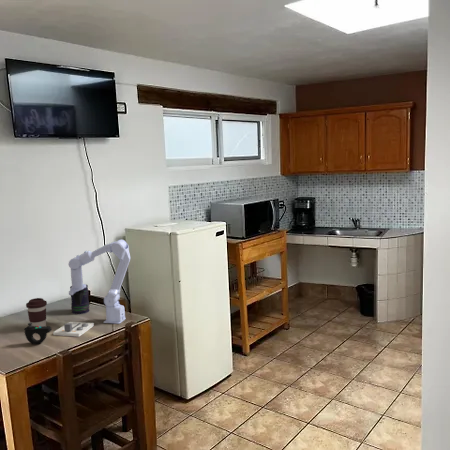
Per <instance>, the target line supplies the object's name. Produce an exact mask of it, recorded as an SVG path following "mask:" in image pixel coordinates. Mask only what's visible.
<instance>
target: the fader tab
mask: <svg viewBox="0 0 450 450" xmlns="http://www.w3.org/2000/svg"><path fill="white" fill-rule="evenodd" d="M63 326H64V328H65V331H72V323H68V322H66V323H64V324H63Z"/></svg>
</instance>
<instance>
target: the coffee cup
mask: <svg viewBox="0 0 450 450" xmlns="http://www.w3.org/2000/svg"><path fill="white" fill-rule="evenodd" d="M47 305H48V303H47V300H45V299H44V298H42V297H36V298H32V299H29V301H28V302H27V303H26V304H25V306H26V307H25V308H27V315H28V321H29V323H32V326H47Z"/></svg>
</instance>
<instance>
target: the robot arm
mask: <svg viewBox="0 0 450 450" xmlns="http://www.w3.org/2000/svg"><path fill="white" fill-rule="evenodd" d="M105 253H113V254H114V255H115V256H116V257H117V258H118V260H119V263H118V266H117V269H116V272H115V274H114V277H113V280H112V283H111V286H110V288H109V290H108V292H107V294H106V295H105V296H104V298H103V304H104V305H105V318H106V319H105V320H104V321H103V324H117V325H118V324H121V323H122V322H124V321H125V320H126V319H127V318H126V311H125V309H126V308H125V306H124V305H122V304H120V298H121V294H120V293H121V288H122V284H123V282H124V279H125V276H126V274H127V270H128V267H129V265H130V262H131V254H130V246H129V243H127V241H126V240H124V239H122V238H121V239H118V240H116V241H112V242H109V243H107V244H104V245H103V246H101V247H99V248H97V249H95V250H93V251H91V250H88V251H87V250H84V252H83V253H81V254H80V255H79V254H78V255H75V256H74V257H73V258H71V259H70V260H69V261H68V267H69V268H70V277H71V278H70V280H71V286H72V287H71V286H70V287H71V288H70V287H69V291H68V296H70V295H72V296H73V297H74V299H75V302H76V304H77V305H80V304H81V302H82V297H83V294H84V292H85V291H84V290H83V289H84V288H86V285H87V284H86V283H84V280H83V277H84V276H83V266H85V265H87V264H89V263H91V262H94V260H95V258H96V257H99V256H101V255H103V254H105ZM70 289H71V290H70Z"/></svg>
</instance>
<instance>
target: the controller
mask: <svg viewBox="0 0 450 450" xmlns="http://www.w3.org/2000/svg"><path fill="white" fill-rule="evenodd" d="M27 325H28V326H26V327H24V335H25V338H26V340H27V341H28V342H29V343H30V344H31V345H32V344H34V345H38V344H41V343H43V342H44V341H45V340H46V338H47V336H48V334H49V333H50V332H51V331H52V330H53V329H52V327H51V326H49V325H46V326H32V323H30V322H28V323H27ZM34 334H36V335H38V336H39V339H35V338H34Z"/></svg>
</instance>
